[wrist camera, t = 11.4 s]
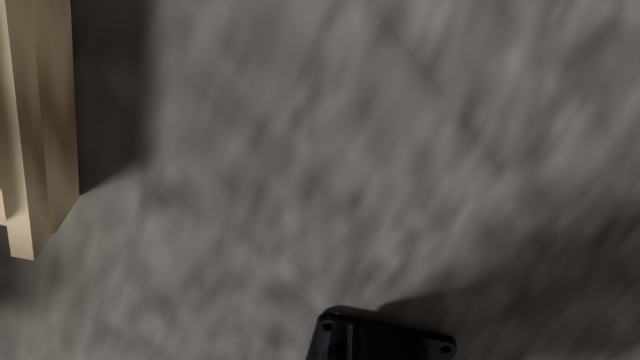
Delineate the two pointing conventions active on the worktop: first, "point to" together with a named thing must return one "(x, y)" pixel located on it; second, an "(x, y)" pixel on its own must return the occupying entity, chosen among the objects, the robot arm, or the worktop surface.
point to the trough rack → (36, 122)
